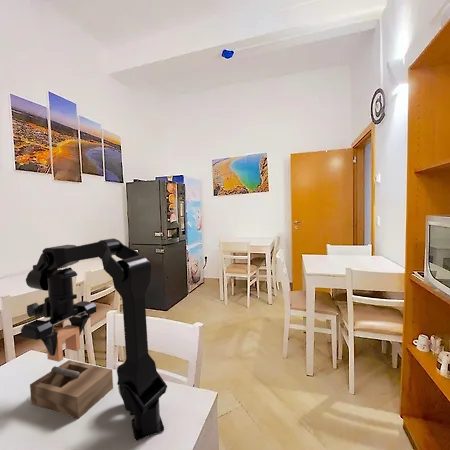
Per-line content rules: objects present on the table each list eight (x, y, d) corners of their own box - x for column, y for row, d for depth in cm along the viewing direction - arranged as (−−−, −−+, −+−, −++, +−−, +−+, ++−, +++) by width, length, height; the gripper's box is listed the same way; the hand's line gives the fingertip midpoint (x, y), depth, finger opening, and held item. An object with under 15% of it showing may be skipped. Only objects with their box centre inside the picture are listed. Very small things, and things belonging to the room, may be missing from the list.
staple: (69, 346, 81) (68, 324, 81) (80, 348, 80) (79, 326, 80) (47, 359, 75) (46, 335, 74) (59, 361, 74) (57, 337, 73)
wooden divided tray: (113, 388, 81) (111, 364, 80) (78, 418, 69) (76, 391, 69) (69, 377, 86) (68, 355, 85) (31, 404, 75) (29, 378, 74)
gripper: (67, 280, 88) (70, 329, 89) (3, 301, 70) (7, 361, 71) (96, 283, 84) (98, 334, 85) (35, 306, 66) (40, 369, 68)
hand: (64, 348), depth 77 cm, fingers closed on staple, 7 cm apart
